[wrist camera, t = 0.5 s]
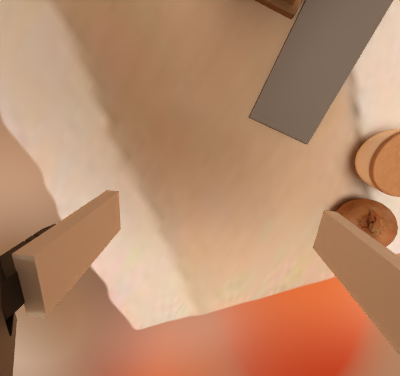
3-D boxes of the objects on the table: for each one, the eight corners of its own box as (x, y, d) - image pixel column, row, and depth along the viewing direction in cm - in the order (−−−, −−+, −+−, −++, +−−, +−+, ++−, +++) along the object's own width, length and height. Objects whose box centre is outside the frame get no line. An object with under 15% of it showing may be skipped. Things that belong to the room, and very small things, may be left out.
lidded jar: (399, 116, 36) (460, 114, 27) (407, 171, 39) (465, 185, 30) (337, 141, 38) (376, 146, 29) (349, 191, 41) (387, 210, 32)
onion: (326, 199, 45) (339, 200, 35) (380, 197, 41) (409, 197, 32) (330, 243, 44) (344, 255, 35) (385, 245, 41) (416, 259, 31)
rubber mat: (306, 143, 38) (307, 144, 38) (248, 117, 38) (249, 117, 37) (392, -3, 31) (396, -5, 31) (324, -40, 30) (326, -43, 30)
